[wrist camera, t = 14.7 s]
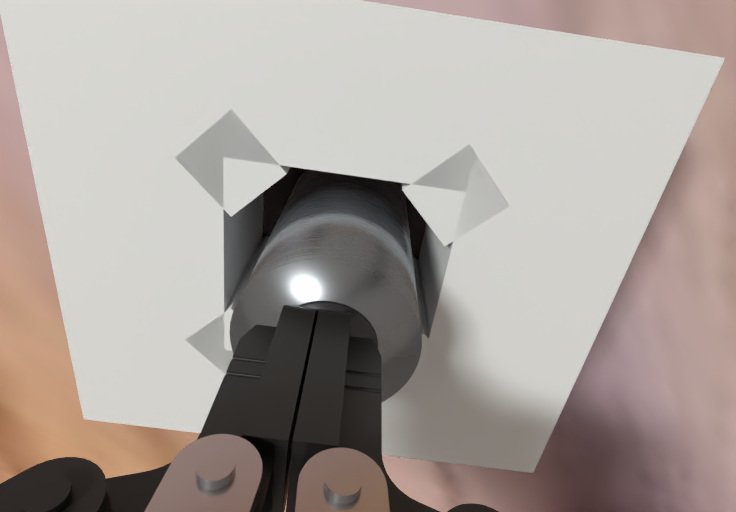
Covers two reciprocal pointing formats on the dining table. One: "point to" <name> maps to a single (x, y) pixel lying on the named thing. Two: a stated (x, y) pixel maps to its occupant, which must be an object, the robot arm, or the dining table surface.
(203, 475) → the robot arm
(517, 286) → the jig
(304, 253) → the dark grey cylinder
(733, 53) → the dining table surface
